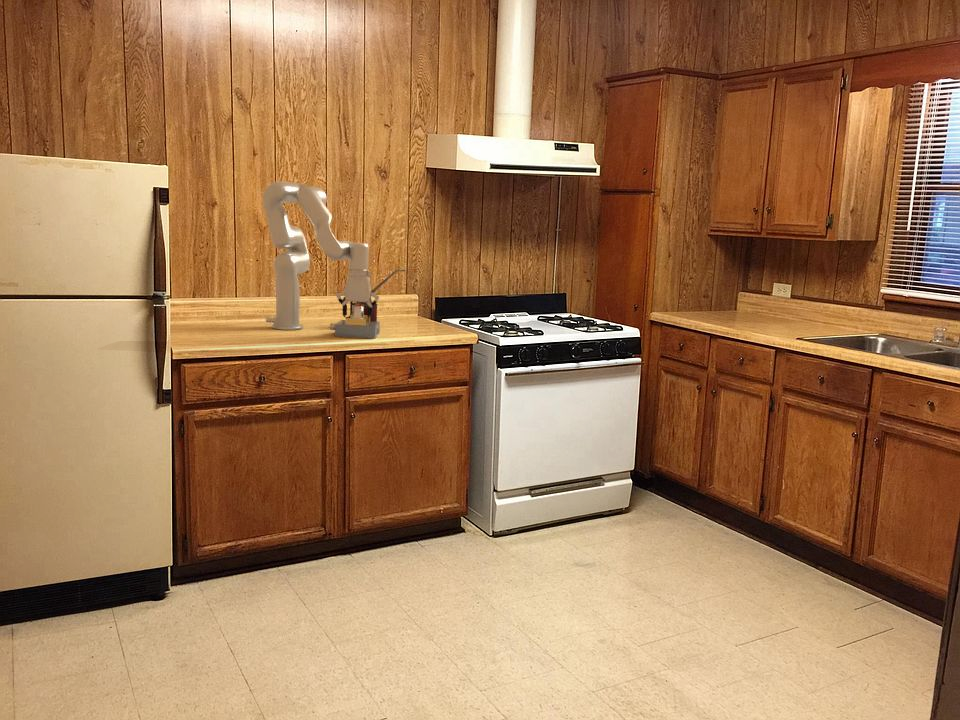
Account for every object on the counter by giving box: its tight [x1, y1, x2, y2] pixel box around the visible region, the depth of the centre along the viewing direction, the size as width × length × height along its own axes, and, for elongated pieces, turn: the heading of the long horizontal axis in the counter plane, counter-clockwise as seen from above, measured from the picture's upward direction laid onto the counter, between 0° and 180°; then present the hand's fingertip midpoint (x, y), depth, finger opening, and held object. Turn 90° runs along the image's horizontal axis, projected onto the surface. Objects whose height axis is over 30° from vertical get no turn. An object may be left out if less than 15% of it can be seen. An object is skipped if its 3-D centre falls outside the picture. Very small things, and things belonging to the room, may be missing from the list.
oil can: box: [342, 269, 406, 322], centre depth 364 cm, size 28×11×25 cm, turn 117°
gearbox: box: [329, 314, 381, 339], centre depth 340 cm, size 19×13×8 cm
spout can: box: [352, 302, 364, 319], centre depth 340 cm, size 5×5×12 cm
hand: (357, 316), depth 340 cm, fingers open, 9 cm apart
